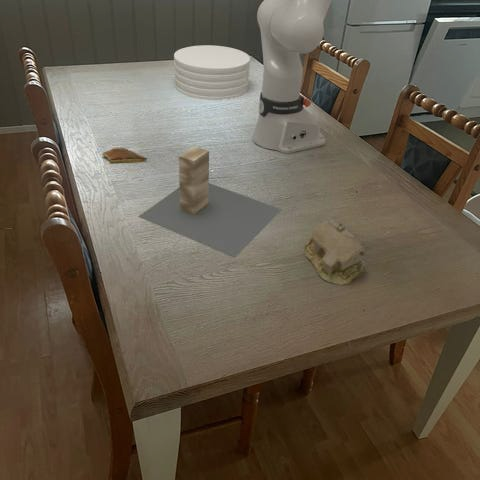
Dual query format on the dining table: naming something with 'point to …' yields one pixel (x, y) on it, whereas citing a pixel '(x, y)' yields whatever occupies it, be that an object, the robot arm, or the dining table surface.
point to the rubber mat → (215, 219)
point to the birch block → (194, 179)
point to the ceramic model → (335, 253)
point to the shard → (123, 156)
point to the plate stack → (211, 72)
